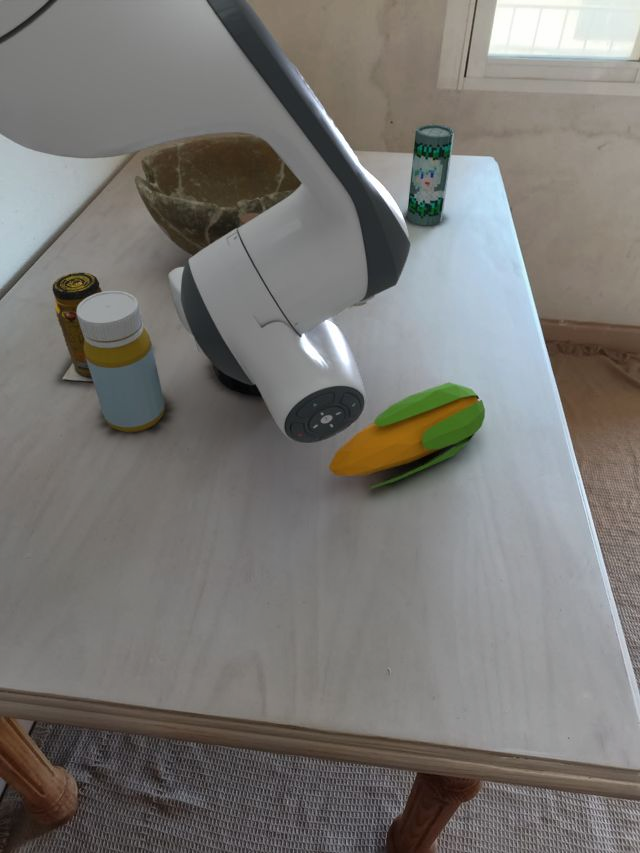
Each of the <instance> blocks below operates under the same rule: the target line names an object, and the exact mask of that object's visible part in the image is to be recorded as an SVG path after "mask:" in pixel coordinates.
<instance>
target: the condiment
mask: <svg viewBox="0 0 640 853" xmlns="http://www.w3.org/2000/svg"><path fill="white" fill-rule="evenodd" d="M100 292H103V291H102V288H101V287H100V282H99V280H98V278H97V276H95V275H93V274H91V273H87V272H71V273H68V274H64V275H62V276H60V277H59V278H57V279H56V280H55V281H54V283H53V284H52V293H53V295H54V302H55V303H56V304H55V309H54V310H55V313H56V314H55V315H56V317H57V321H58V324H59V326H60V328H61V332H62V336H63V338H64V341H65V345H66V347H67V351H68V353H69V356H70V360H71V362H72V363H71V365H70V366H69V368H68V369H67V371H66V372H65V373H64V375H63V377H62V380H67V381H68V380H69V381H81V382H93V380H92V376H91V373H90V370H89V367H88V364H87V360H86V357H85V353H84V349H83V347H84V336H83V333H82V330H81V327H80V324H79V320H78V317H77V313H76V312H77V307H78V305H79V304H80V303H81V302H82V301H83V300H84V299H85V298H87V297H89V296H91V295H94V294H97V293H100Z"/></svg>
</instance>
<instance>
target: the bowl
mask: <svg viewBox="0 0 640 853" xmlns="http://www.w3.org/2000/svg"><path fill="white" fill-rule="evenodd" d="M141 168H142V171H143V173H144V176H145V179H144V178H142V177H141V176H139V175H135V177H134V183H135V186H136V191H137V192H138V194H139V196H140V199H141V200H142V202H143V204H144V205H145V208H146V210H147V211H148V213H149V214H150V216H151V218H152V219H153V221H154V222H155V223H156V225H157V226H158V227H159V228H160V230H161V231H162V232H163V233H164V235H165V236H167V238H169V239H170V240H171V242H173V243H174V244H175V245H176V246H178V247H179V248H180V249H181V250H182V251H184V252H186V253H188V254H190V256H192V257H193V256H194V255H195V254H197V253H198V252H199V251H201V250H202V249H204V248H205V247H207V246H209V245H210V244H212V243H213V242H215V241H216V240H218V239H220V238H221V237H223V236H224V235H226V234H228V233H229V232H231V231H232V230H234V229H236V228H239V227H240V226H241V217H242V216H243V215H245V214H249V213H260V214H261V213H263V212H265V211H266V210H268V209H269V208H271V207H273V206H274V205H276V204H277V203H279V202H281V201H282V200H284V199H285V198H287V197H288V196H290V195H291V194H292V193H293V192H295V191H296V190H297V189H298V187H299V186H300V185H301V184H302V183H301V182H300V181H299V179H298V178H297V177H296V176H295V175H294V173H293V172H292V171H291V170H290V169H289V167H288V166H287V165H286V164H285V163H284V162H283V160H282V159H281V158H280V157H279V156H278V154H277V153H276V152H275V151H274V150H273V148H272V147H271V146H270V145H269V144H268V143H267V142H266V141H264V140H263V139H261V138H259V137H257V136H254V135H218V136H204V137H200V138H199V137H198V138H194V139H191V140H187V141H181V142H179V143H174V144H171V145H166V146H163V147H160V148H157V149H155V150H152V151H150V153H148V154H146V155H145V156H144V157H143V158H142V159H141Z"/></svg>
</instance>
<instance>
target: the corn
mask: <svg viewBox="0 0 640 853" xmlns="http://www.w3.org/2000/svg"><path fill="white" fill-rule="evenodd" d="M479 399H480V397H479V395H478V394H477V393H476V392H475V391H474V390H473V389H472V388H469V387H467V386H464V385H460V384H456V383H452V382H445V383H442V384H440V385H437V386H434V387H432V388H428V389H424V390H422V391H420V392H416V393H414V394H411V395H409V396H406V397H405V398H403V399H401V400H399V401H398V402H395V403H394V404H392V405H390V406H389V407H387V408H386V409H384V411H383V412H381V413H380V414H378V416H377V417H376V418H375V419H374V421H373V422H372V423H371V424H370V425H367V426H366V427H365V428H363V429H362V430H360V431H358V432H357V433H356V434H354V435H353V437H351V438H350V439H349V440H348V441H347V442H346V443H344V444H343V445H342V446H341V447H340V448H339V449H338V450H336V452H335V454H334V456H333V458H332V460H331V462H330V464H329V466H328V469H329V470H330V472H331V473H332V474H333V475H334V476H345V477H352V476H353V477H355V476H356V477H357V476H369V475H372V474H375V473H379V472H383V471H386V470H390V469H393V468H397V467H400V466H404V465H407V464H410V463H412V462H415V461H417V460H420V459H421V458H425V457H427V456H429V455H431V454H434V453H435V452H437V451H438V452H439V451H440V450H442V449H445V448H447V447H450V446H452V445H454V446H453V447H451V448H449V449H448V450H446V451H444V452H442V453H440V454H438V455H437V456H435V457H433V458H431V459H430V460H427V461H425V462H424V463H422V464H420V465H418V466H416V467H415V468H413V469H410V470H409V471H405V472H404V473H402V474H399V475H398V476H396V477H394V478H391V479H389V480H386V481H382V482H380V483H378V484H374V485H373V486H369V488H368V490H372V489H376V488H379V487H382V486H384V485H387V484H391V483H394V482H397V481H399V480H402V479H403V478H406V477H408V476H411V475H413V474H415V473H417V472H420V471H422V470H425V469H427V468H429V467H431V466H433V465H436V464H438V463H440V462H443V461H445V460H447V459H450V458H452V457H454V456H455V455H456V454H458V453H459V452H460V451H461V450H462V449H463V448H464V447H465V446H466V445H467V444H468V443H469V442H470V441H471V440H472V438H473V437H474V435H475V434H476V433H477V432H478V431H479V430H480V429H481V428H482V426H483V424H484V420H485V418H486V408H485V405H484V402H483V399H480V400H479ZM455 444H456V445H455Z"/></svg>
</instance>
